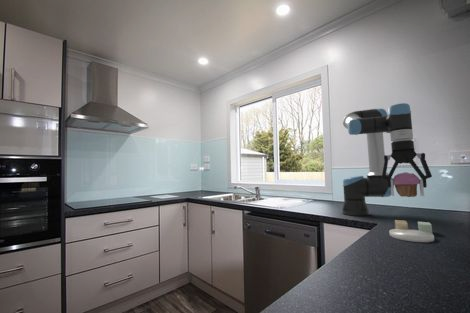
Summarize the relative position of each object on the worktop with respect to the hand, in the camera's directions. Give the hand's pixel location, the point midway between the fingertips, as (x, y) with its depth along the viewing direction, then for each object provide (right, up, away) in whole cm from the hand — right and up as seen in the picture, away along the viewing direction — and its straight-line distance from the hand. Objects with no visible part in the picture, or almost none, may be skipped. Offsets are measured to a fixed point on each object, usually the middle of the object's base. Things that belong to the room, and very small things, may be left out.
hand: (407, 195), depth 91 cm
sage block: (+10, -16, +3) cm, 19 cm away
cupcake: (0, -1, 0) cm, 1 cm away
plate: (-1, -16, -3) cm, 16 cm away
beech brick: (+3, -17, +7) cm, 18 cm away
